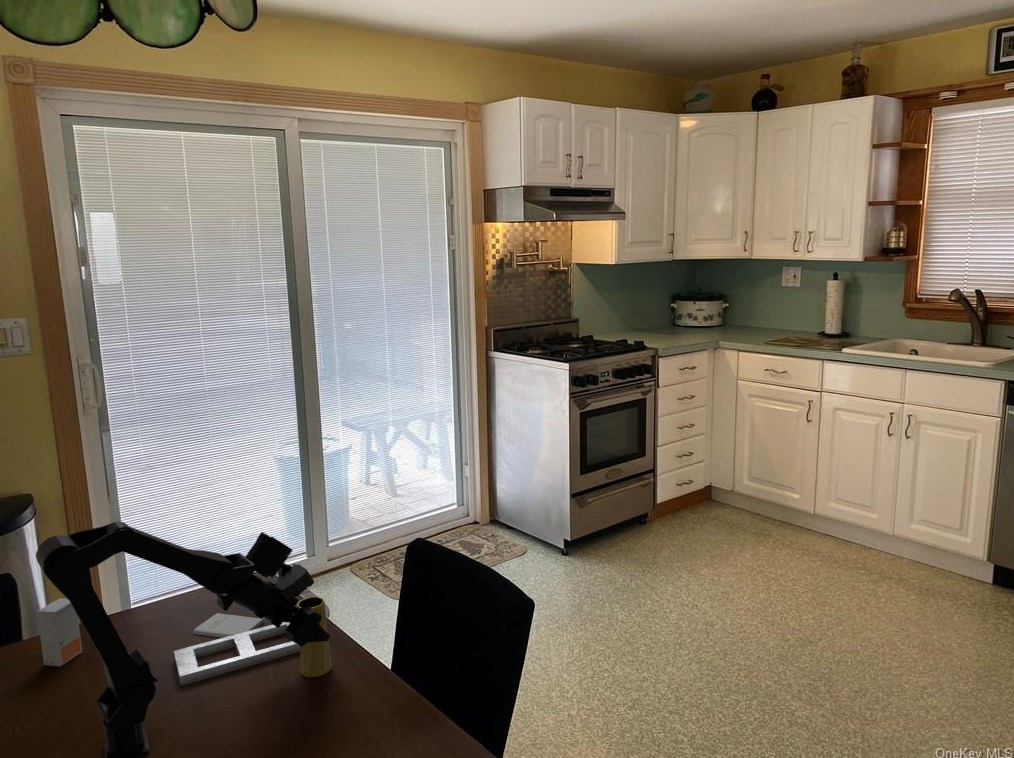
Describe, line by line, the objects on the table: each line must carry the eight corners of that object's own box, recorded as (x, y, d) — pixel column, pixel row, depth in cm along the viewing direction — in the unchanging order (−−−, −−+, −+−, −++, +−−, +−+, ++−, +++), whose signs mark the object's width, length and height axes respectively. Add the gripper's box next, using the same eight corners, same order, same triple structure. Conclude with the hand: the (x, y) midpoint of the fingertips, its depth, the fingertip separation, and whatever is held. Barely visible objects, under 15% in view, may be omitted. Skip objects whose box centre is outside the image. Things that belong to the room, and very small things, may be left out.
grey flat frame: (314, 647, 154) (314, 638, 154) (180, 686, 142) (179, 676, 142) (301, 625, 164) (300, 617, 164) (174, 659, 151) (173, 650, 151)
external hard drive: (242, 643, 158) (193, 636, 162) (264, 624, 166) (218, 618, 170) (241, 636, 158) (193, 629, 162) (264, 618, 166) (217, 611, 169)
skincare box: (61, 667, 150) (53, 612, 148) (43, 665, 151) (35, 611, 149) (83, 651, 156) (76, 598, 154) (66, 650, 157) (59, 597, 155)
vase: (293, 673, 145) (287, 606, 143) (315, 658, 150) (309, 592, 148) (317, 681, 142) (311, 612, 140) (338, 665, 147) (333, 598, 145)
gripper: (307, 573, 132) (365, 609, 141) (263, 544, 146) (319, 579, 155) (269, 629, 128) (331, 662, 137) (228, 595, 142) (287, 627, 151)
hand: (317, 629), depth 145 cm, fingers open, 9 cm apart
